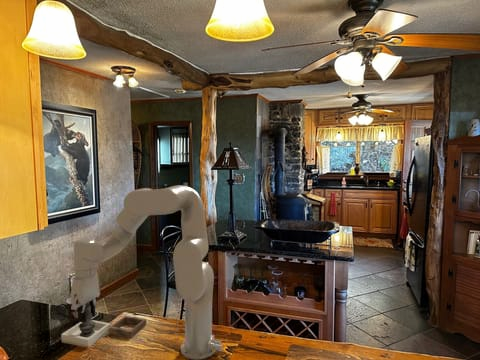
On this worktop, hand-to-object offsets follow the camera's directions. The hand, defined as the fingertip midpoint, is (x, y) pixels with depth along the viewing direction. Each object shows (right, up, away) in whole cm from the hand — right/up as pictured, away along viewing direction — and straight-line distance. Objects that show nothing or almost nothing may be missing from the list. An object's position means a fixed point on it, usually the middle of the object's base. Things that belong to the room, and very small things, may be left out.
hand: (86, 318), depth 123 cm
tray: (0, -7, +1) cm, 7 cm away
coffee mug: (-10, -6, +11) cm, 16 cm away
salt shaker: (0, -6, 0) cm, 6 cm away
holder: (+14, -7, +6) cm, 16 cm away
